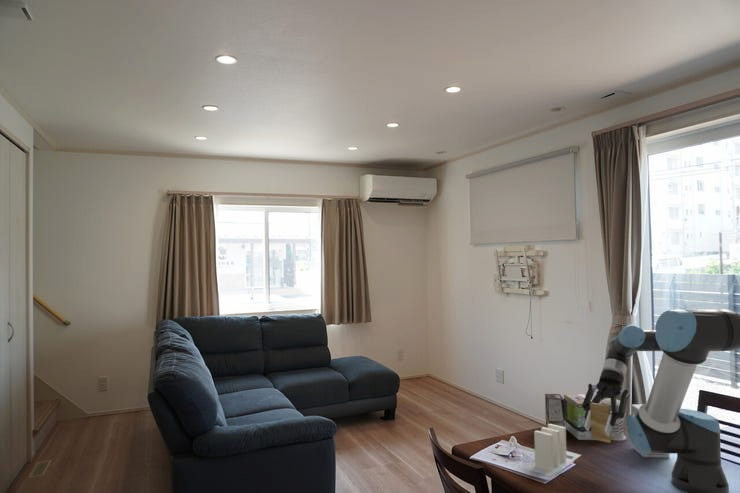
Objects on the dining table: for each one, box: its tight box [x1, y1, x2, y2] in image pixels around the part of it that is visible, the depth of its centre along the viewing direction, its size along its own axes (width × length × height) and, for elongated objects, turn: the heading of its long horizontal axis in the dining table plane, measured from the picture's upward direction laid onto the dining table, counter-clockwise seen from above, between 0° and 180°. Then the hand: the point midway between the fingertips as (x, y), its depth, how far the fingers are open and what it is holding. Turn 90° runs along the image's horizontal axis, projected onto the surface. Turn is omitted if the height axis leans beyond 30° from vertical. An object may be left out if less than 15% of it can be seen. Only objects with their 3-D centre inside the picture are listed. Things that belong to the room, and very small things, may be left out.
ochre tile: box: [590, 403, 612, 443], centre depth 166 cm, size 2×6×12 cm, turn 44°
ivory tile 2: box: [540, 426, 560, 467], centre depth 171 cm, size 2×6×12 cm, turn 43°
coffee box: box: [544, 393, 565, 428], centre depth 200 cm, size 9×6×16 cm
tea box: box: [563, 393, 601, 441], centre depth 202 cm, size 15×10×15 cm
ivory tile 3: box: [534, 429, 554, 471], centre depth 168 cm, size 2×6×12 cm, turn 43°
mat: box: [524, 450, 582, 477], centre depth 173 cm, size 25×9×1 cm, turn 133°
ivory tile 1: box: [548, 424, 567, 463], centre depth 175 cm, size 2×6×12 cm, turn 43°
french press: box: [600, 397, 627, 441], centre depth 199 cm, size 10×12×25 cm
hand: (596, 430), depth 163 cm, fingers closed on ochre tile, 6 cm apart
